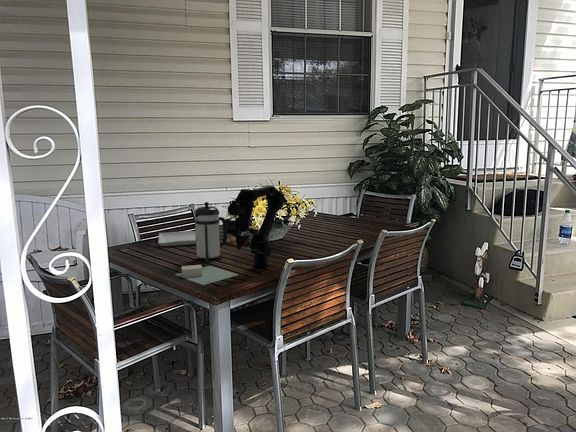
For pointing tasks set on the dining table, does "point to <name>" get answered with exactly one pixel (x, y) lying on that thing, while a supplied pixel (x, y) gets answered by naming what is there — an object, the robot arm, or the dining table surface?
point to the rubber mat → (210, 275)
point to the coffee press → (208, 232)
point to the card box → (192, 270)
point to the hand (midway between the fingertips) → (238, 249)
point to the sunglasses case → (232, 241)
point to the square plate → (177, 238)
